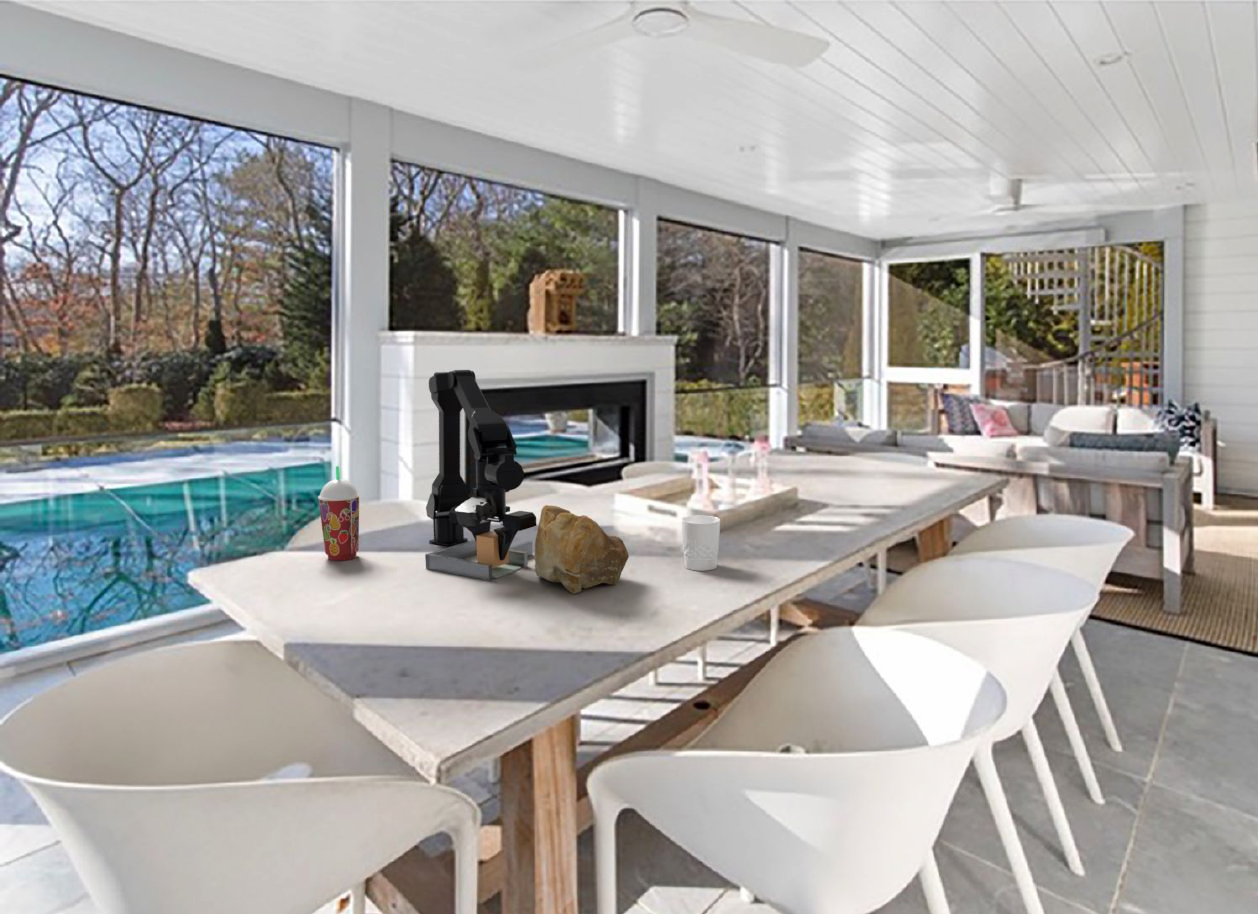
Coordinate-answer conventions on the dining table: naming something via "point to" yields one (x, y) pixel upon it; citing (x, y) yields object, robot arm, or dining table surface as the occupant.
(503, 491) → the robot arm
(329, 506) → the smoothie
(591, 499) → the dining table surface
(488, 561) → the orange block
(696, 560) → the white cup
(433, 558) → the steel rail course
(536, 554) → the rough brown rock
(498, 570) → the pad
